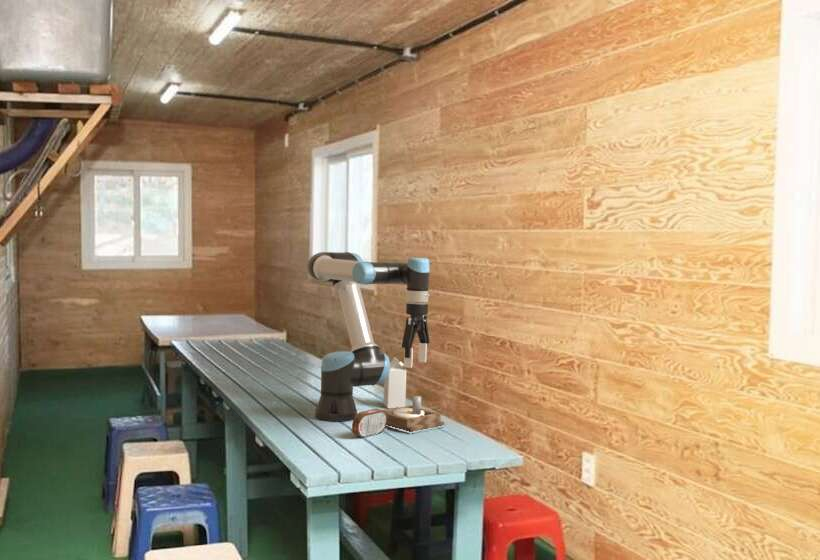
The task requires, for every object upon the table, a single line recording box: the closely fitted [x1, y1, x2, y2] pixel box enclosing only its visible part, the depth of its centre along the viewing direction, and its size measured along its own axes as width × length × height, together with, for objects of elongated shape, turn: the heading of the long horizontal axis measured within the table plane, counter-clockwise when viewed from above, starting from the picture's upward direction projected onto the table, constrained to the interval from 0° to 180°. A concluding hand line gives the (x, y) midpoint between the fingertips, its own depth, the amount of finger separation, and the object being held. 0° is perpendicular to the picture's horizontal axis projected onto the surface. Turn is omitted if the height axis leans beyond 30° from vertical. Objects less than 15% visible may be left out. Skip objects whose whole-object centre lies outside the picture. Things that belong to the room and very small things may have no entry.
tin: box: [351, 408, 387, 438], centre depth 254 cm, size 15×3×8 cm, turn 141°
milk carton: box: [383, 356, 407, 409], centre depth 298 cm, size 7×7×19 cm
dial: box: [393, 395, 424, 418], centre depth 270 cm, size 11×11×8 cm
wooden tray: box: [381, 405, 445, 432], centre depth 270 cm, size 16×20×5 cm
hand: (415, 364), depth 262 cm, fingers open, 13 cm apart
